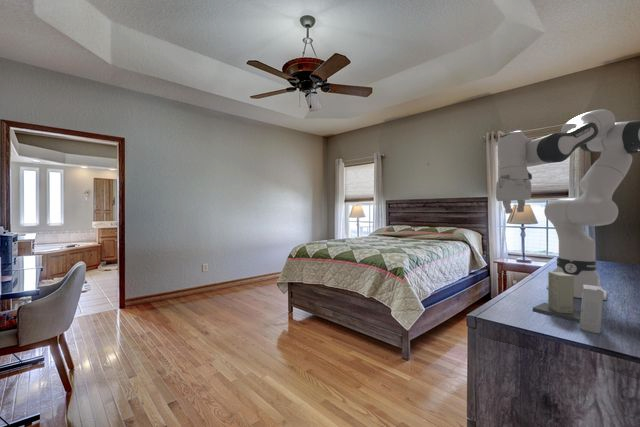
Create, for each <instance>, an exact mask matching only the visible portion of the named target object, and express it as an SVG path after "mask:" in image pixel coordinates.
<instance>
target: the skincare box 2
mask: <svg viewBox="0 0 640 427" xmlns="http://www.w3.org/2000/svg"><path fill="white" fill-rule="evenodd" d="M599 286H600V285H599ZM599 286H592V285H583V293H582V298H581V307H580V311H581V317H580V322H579V328H580V330H581V331H585V332H589V333H593V334H594V333H595V334H601V328H602V317H603V306H604V300H603V294H604V292H603V290H604V289H603V286H602V287H599Z"/></svg>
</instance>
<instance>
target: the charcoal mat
mask: <svg viewBox="0 0 640 427" xmlns="http://www.w3.org/2000/svg"><path fill="white" fill-rule="evenodd" d="M533 311H534V312H537V313H541V314H544V315H549V316H552V317H556V318H560V319H564V320H568V321H571V322H575V323H579V324H580V317H581V310H579V309H578V310H577V309H573V314H569V313H559V312H557V311H555V310H553V309H551V308H549V307H548V302H542V303H540V304H538V305H536V306H533V307H532V312H533Z"/></svg>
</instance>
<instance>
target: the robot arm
mask: <svg viewBox="0 0 640 427" xmlns="http://www.w3.org/2000/svg"><path fill="white" fill-rule="evenodd" d="M578 148H580V149H581V150H582V151H583V152H587V153H595V152H600V156H599V158H597V159H596V160H595V161H594V162H593V164H592V165H591V166H590V167H589V168H588V170H587V172H586V173H585V174H584V176H583V177H582V178H581V180H580V181H579V183H578V184H579V185H578V186H579V189H580V190H581V192H582V194H581V195H580V196H579V197H570V198H569V197H567V198H564V197H563V198H557V199H554V200H551V201H549V202H547V204H546V205H545V207H544V211H543V212H544V216H545V217H546V219H547V221H549V222H550V223H551V224H552V226H553V227H554V229H555V232H556V235H557V240H558V257H557V258H556V267H555V268H554V269H552V271H551V272H563V273H566V274H569V275H572V276H574V298H578V299H582V293H583V285H592V286H599V287H602V288H603V286H601V284H600V282H601V281H600V279H601V278H600V276H599V274H598V273H597V261H596V260H595V259H596V258H595V257H596V242H595V240H594V238H592V237H591V236H590V235H588V234H587V233H586V231H585V229H584V226H587V227H599V226H600V227H601V226H608V225H610V224H613V223H614V222H615V221H616V220H617V218H618V215H619V208H618V205H617V204H616V203H615V201H613V195H614V193H615V191H616V190H617V188H618V187H619V185H620V184H621V183H622V181H623V180H624V178H625V177H626V176H627V174H628V172H629V170H630V168H631V167H632V166H631V165H632V164H633V163H632V162H633V156H632V155H634V154H636V153H638V152H640V119H639V120H638V119H635V120H634V119H633V120H628V121H627V120H626V121H618V122H617V121H616V117H615V114H614V113H613V112H612V111H611V110H609V109H604V108H601V109H596V110H591V111H588V112H584V113H582V114H580V115H576V116H575V117H573V118H571V119H570V120H568V121H567V122H566V123H564V124H563V125H562V127H561V130H560V132H559V131H558V132H554V133H551V134H548V135H546V136H542V137H538V138H535V139H533V138H530V137H528V136H526V135H525V134H524V132H523V130H515V131H511V132H507V133H504V134H502V135H501V136H499V138H498V141H497V159H498V162H499V165H498V181H497V182H496V185H495V199H496V201H498V202H502V205H503V208H504V212H505V214H506V215H507V214H509V215H510V214H513V208H512V206H511V204H512V201H517V207H516V212H517V213H524V212H525V204H526V201H527V200H531V197H532V183H531V181H532V180H533V174H532V173H531V172H530V171H529V170H528V168H529V167H535V166H541V165H548V164H555V163H556V164H557V163H562V162H565V161H566V160H567V159H568V158H570V156H571V155H572V153H573V152H575V150H577V149H578ZM545 288H546V289H547V290H548V285H546V287H545ZM603 292H604V294H603V301H607V299H608V298H607V296H608V295H607V294H608V293H607V290H605V289H603Z"/></svg>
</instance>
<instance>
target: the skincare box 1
mask: <svg viewBox="0 0 640 427" xmlns="http://www.w3.org/2000/svg"><path fill="white" fill-rule="evenodd" d="M547 272H548V276H547V279H548V282H547V283H548V284H547V286H548V289H547V290H548V291H547V293H548V294H547V297H548V298H547V303H548V307H549V308H551V309H553V310H555V311H557V312H559V313H569V314H573V309H574V308H575V307H574V300H575V299H574V298H575V297H574V276H572V275H569V274H566V273H563V272H552V271H547ZM574 310H575V309H574Z"/></svg>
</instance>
